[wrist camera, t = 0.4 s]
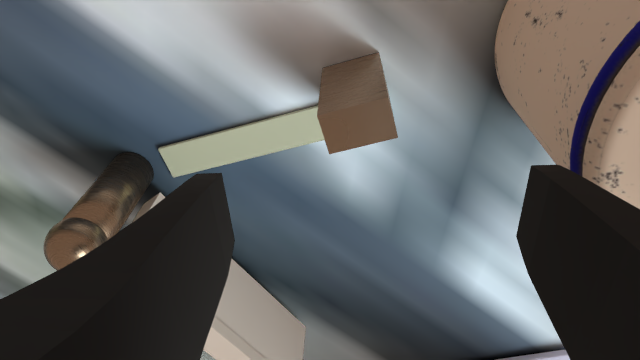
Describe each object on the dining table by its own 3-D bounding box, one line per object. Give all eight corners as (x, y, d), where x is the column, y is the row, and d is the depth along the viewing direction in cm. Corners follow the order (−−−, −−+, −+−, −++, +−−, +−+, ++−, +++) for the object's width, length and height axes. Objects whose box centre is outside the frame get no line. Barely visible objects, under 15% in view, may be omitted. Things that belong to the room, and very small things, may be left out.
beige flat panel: (139, 202, 23) (97, 267, 19) (159, 189, 22) (120, 252, 19) (289, 336, 28) (281, 410, 24) (308, 327, 27) (302, 401, 23)
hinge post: (163, 183, 23) (104, 281, 17) (124, 193, 23) (54, 291, 18) (142, 145, 22) (71, 236, 16) (101, 156, 22) (18, 248, 17)
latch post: (386, 86, 20) (397, 137, 16) (332, 100, 20) (329, 154, 16) (379, 52, 19) (388, 97, 15) (322, 67, 19) (316, 115, 15)
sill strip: (394, 120, 21) (394, 122, 20) (174, 175, 23) (173, 177, 22) (385, 87, 20) (386, 89, 20) (159, 147, 22) (157, 149, 22)
